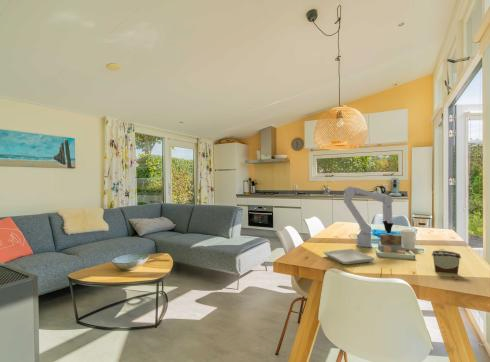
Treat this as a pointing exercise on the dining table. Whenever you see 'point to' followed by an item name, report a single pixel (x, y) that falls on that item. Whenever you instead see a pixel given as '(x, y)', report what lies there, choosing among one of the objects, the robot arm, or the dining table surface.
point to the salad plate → (349, 256)
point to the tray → (396, 255)
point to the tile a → (387, 249)
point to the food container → (446, 262)
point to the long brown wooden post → (390, 239)
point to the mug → (408, 239)
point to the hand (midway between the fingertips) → (388, 231)
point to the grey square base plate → (393, 247)
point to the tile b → (400, 252)
